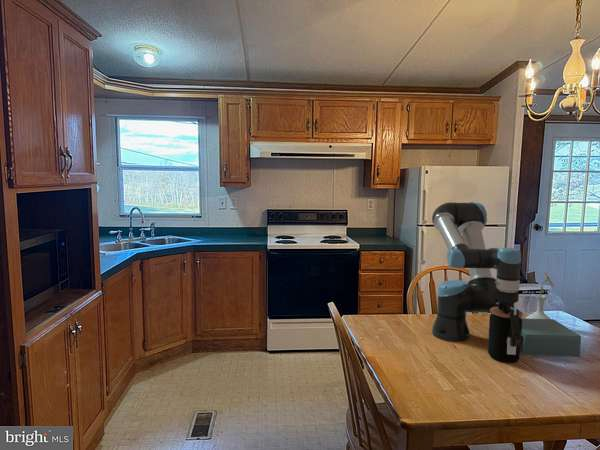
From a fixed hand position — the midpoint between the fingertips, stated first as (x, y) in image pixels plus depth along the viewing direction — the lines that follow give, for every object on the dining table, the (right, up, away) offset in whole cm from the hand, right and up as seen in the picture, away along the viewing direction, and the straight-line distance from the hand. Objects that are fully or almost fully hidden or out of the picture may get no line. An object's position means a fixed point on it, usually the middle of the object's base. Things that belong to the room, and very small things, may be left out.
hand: (504, 347), depth 142 cm
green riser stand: (+20, -3, +11) cm, 23 cm away
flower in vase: (+35, -1, +34) cm, 48 cm away
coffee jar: (0, -4, 0) cm, 4 cm away
